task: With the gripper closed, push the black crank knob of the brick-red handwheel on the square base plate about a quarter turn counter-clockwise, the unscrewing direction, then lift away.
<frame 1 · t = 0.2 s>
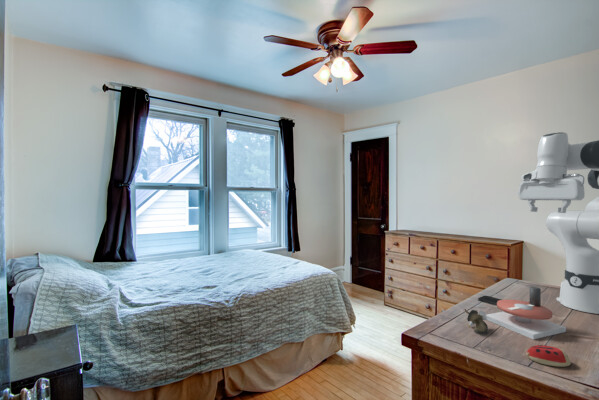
hand: (547, 212, 107), 39 cm above the dresser, tool pointing down, fingers open, 8 cm apart
eagle figurine: (475, 328, 96), on the dresser
phone: (500, 305, 119), on the dresser
ladybug figurine: (547, 362, 77), on the dresser
square base plate: (523, 325, 99), on the dresser
handwheel: (523, 300, 99), point 8 cm above the dresser, hinge at 0.0°
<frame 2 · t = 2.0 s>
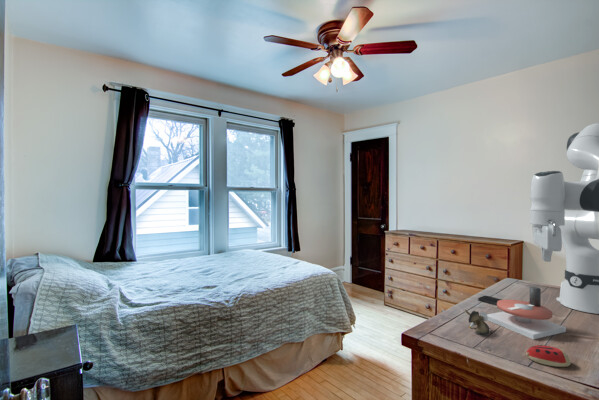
hand: (546, 260, 96), 23 cm above the dresser, tool pointing down, fingers closed
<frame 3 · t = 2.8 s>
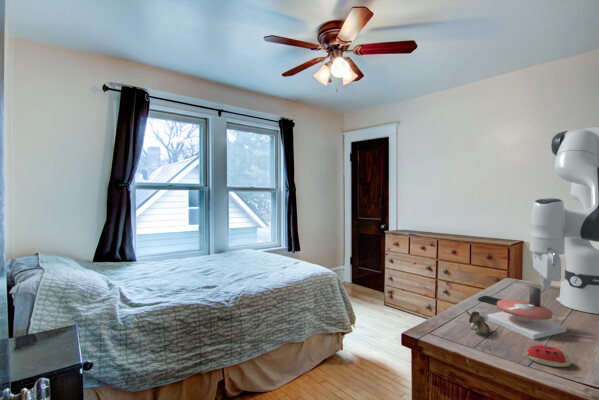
hand: (545, 288, 96), 14 cm above the dresser, tool pointing down, fingers closed
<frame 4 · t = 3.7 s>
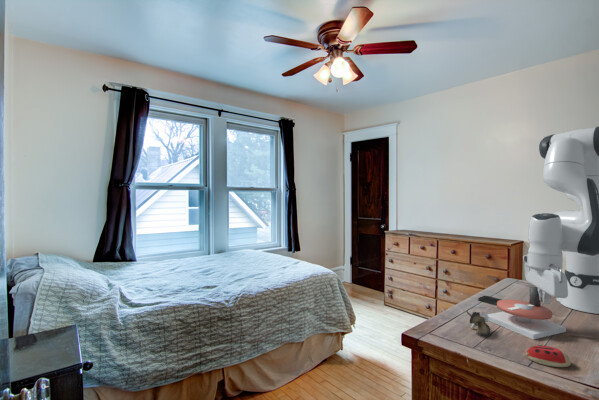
hand: (544, 302, 97), 9 cm above the dresser, tool pointing down, fingers closed
handwheel: (523, 300, 99), point 8 cm above the dresser, hinge at 0.1°, touching gripper
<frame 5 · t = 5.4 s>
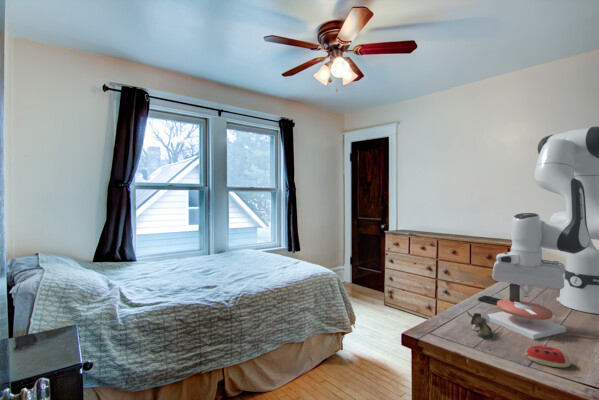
hand: (526, 296, 103), 8 cm above the dresser, tool pointing down, fingers closed
handwheel: (523, 300, 99), point 8 cm above the dresser, hinge at 57.5°, touching gripper
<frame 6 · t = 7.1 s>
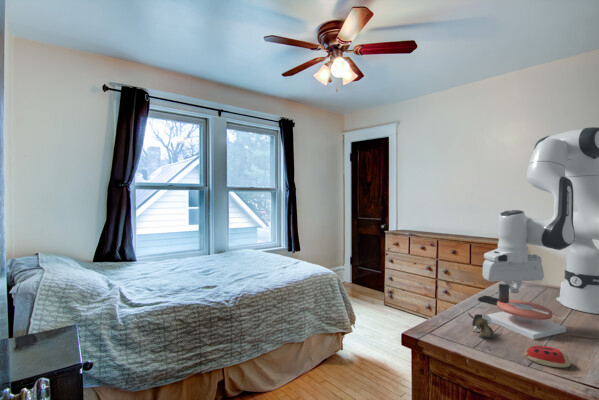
hand: (513, 292, 105), 9 cm above the dresser, tool pointing down, fingers closed
handwheel: (523, 300, 99), point 8 cm above the dresser, hinge at 101.5°
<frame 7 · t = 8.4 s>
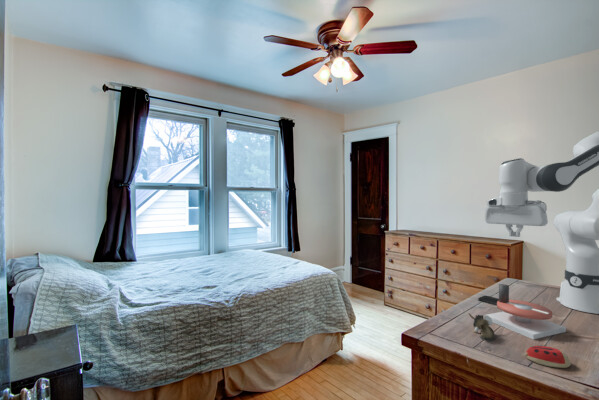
hand: (514, 236, 111), 29 cm above the dresser, tool pointing down, fingers closed
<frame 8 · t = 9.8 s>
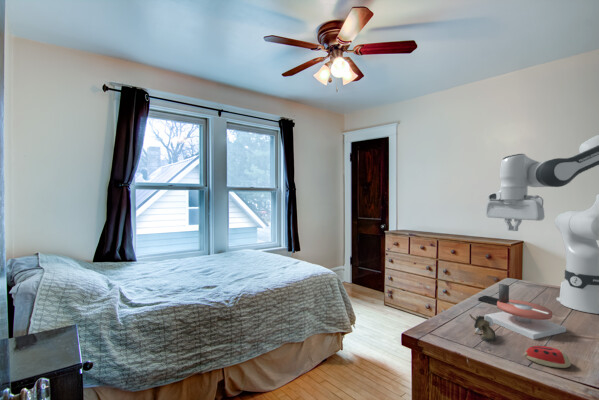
hand: (512, 230, 113), 31 cm above the dresser, tool pointing down, fingers closed
at the end: handwheel at +102° (first picture: +0°) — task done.
